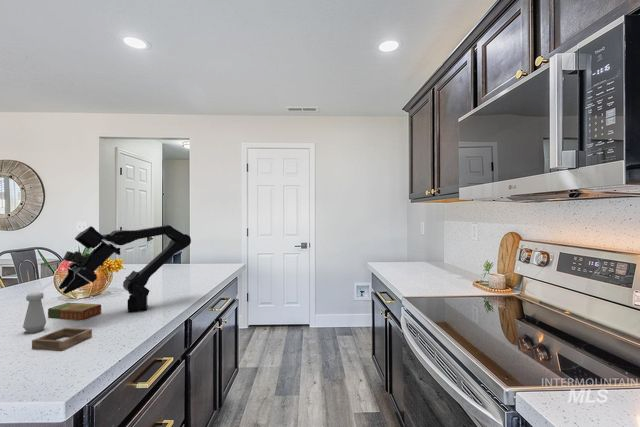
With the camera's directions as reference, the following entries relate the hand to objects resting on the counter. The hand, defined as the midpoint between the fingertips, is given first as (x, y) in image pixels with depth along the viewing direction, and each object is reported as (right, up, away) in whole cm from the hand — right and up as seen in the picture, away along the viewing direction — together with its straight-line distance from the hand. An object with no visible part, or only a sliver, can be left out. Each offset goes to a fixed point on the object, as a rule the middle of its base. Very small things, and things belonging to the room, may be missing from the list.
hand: (61, 290), depth 112 cm
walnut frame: (+12, -12, -15) cm, 23 cm away
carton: (-4, -13, +11) cm, 17 cm away
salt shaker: (-5, -13, -5) cm, 15 cm away
